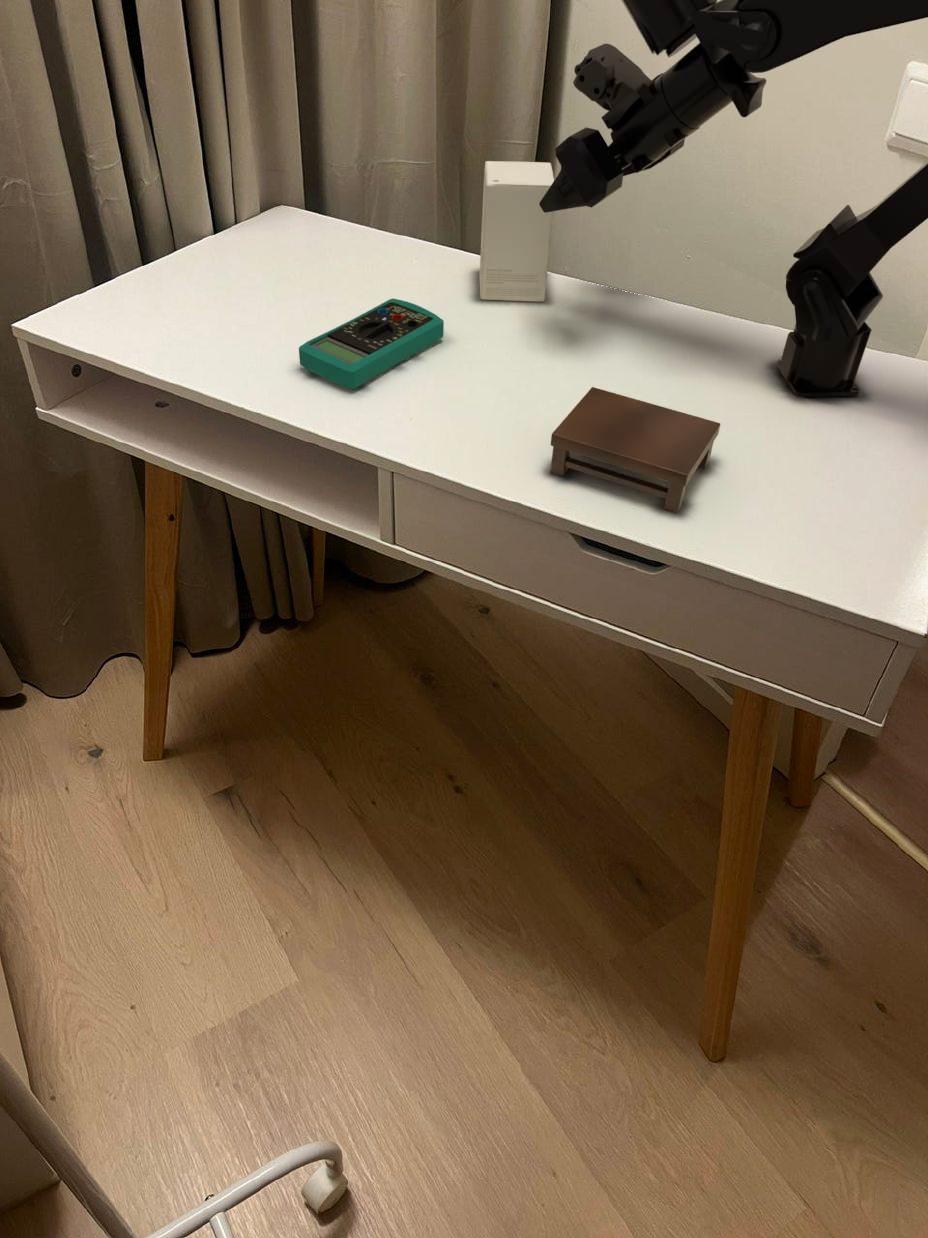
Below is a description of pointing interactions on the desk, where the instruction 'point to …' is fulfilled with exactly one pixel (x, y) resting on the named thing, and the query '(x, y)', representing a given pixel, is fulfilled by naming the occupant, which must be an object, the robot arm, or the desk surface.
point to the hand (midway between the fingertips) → (564, 194)
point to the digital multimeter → (371, 343)
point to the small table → (634, 443)
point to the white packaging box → (515, 231)
